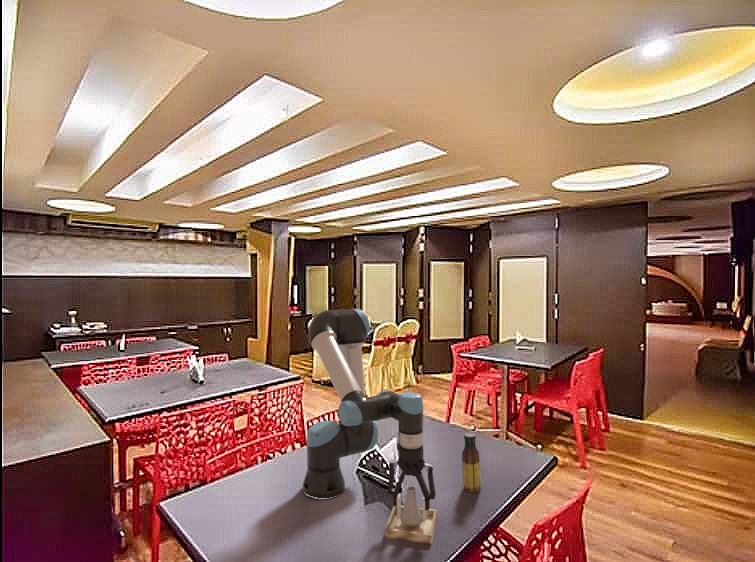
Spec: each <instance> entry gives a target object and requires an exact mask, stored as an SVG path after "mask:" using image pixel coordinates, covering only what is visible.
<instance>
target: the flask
mask: <svg viewBox="0 0 755 562" xmlns="http://www.w3.org/2000/svg"><path fill="white" fill-rule="evenodd" d="M405 489H406V499H405V503H404V505H403V506H404V508H403V511H402V514H401V516H400V520H401V523H402V524H405V525H408V526H417V525H420V524H421V523H422V522H423V518H422V515H421V512H420V510H419V508H420V507H419V504H418V500H417V493H416V492H417V487H416V486H414V485H407V486H406V487H405Z"/></svg>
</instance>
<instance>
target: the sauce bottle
mask: <svg viewBox="0 0 755 562" xmlns="http://www.w3.org/2000/svg"><path fill="white" fill-rule="evenodd" d="M476 437H477V436H476V434H475V433H472V432H466V433H464V435H463V438H464V448H463V450H462V452H461V453H462V454H461V460H462V461H461V462H462V464H461V465H462V466H461V469H462V485H463V489H464V490H465V491H466V492H468V493H478V492H480V490H481V485H482V484H481V483H482V482H481V481H482V480H481V466H480V465H481V463H480V462H481V461H480V452H479V450H478V447H477V446H476Z"/></svg>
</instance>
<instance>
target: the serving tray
mask: <svg viewBox="0 0 755 562" xmlns="http://www.w3.org/2000/svg"><path fill="white" fill-rule="evenodd" d="M403 508H404V505H402V504H401V514H402V511H403ZM419 510H420V512H421V515H422V518H423V507H419ZM437 521H438V509H432V508H429V511H428V510H426V521H425V522H422V523H421V524H420V525H417V526H408V525H405V524H402V523H401V520H400V519H397V507H395V506H394V505H393V506H392V509H391V511H390V515H389V517H388V519H387V522H386V523H385V526H384V527H385V528H384V529H383V530H384V538H386V539H391V540H398V541H399V540H400V541H405V542H412V543H420V544H428V545H433V540H434V537H435V536H434V535H435V531H436V525H437Z"/></svg>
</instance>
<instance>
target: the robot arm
mask: <svg viewBox="0 0 755 562" xmlns="http://www.w3.org/2000/svg"><path fill="white" fill-rule="evenodd" d="M370 332H371V323H370V320H369V318H368V315H367V314H366V313H365V312H364V311H363V310H362V309H360V308H345V309H344V308H343V309H329V310H323V311H320V312H319V313H317V314H316V315H315V316H314V317H313V318H312V320H311V322H310V324H309V327H308V332H307V333H308V340H309V344H310V346H311V348H312V349H313V350H314V351H316V352H317V354H318V355H319V358H320V360H321V361H322V364H323V367H324V368H325V371H326V374H327V375H328V377H329V380H330V381H331V382H330V383H332V385H333V388H334V390H335V393H336V394H337V396H338V398H339V401H340V403H339V405H338V407H337V408H338V409H337V410H338V411H337V413H338V419H339V422H338V421H336V420H328V421H327V420H323V421H319V422H316V423H314V424H313V425H311V426H310V427H309V429H308V430H307V433H306V442H305V443H306V459H307V460H306V461H307V470H306V472H305V476H304V479H303V482H302V492H303V491H304V492H305V493H306V494H308V495H310V496H313V497H317V498H330V497H334V496H336V497H338V496H340V495H341V494H343V493H344V491H345V489H346V488H345V487H346V486H345V485H346V481H345V478H344V475H343V473H342V470H341V467H340V464H341V463H340V461H341V458H345V457H348V456H353V455H357V454H361V453H365V452H367V451H371V450H372V449H374V448H375V446H376V445H377V443H378V440H379V429H378V425H377V422H376V421H380V420H381V421H382V420H385V419H390V418H391V419H393V420H395V421H398V431H399V436H398V459H397V460H394V459H390V461H389V464H388V468H389V475H388V476H389V477H388V485H387V494H388V495H391V496H392V497H393V506H395V507H397V519H400V516H401V505H402V493H399V491H400V489H401V487H402V485H403V482H404V480H405V477H406V476H407V477H408V476H412V477H415V479H416V480H417V483H418V485H419V487H420V490H421V493H422V495H423V497H422V508H423V522H425V521H426V510H428V511H429V509H430V508H431V506H430V505H431V503H430V502H431V501H430V500H435V499H436V488H435V487H436V486H435V479H434V472H433V470H434V464H433V463H430V464H429V463H426V461H425V460H424V459H425V458H424V403H423V396H422V395H421V394H420V393H419V392H413V391H406V392H402V393H400V394H399V393H397V392H395V391H392V390H388V389H384V390H381V391H380V392H379V393H377V395H372V396H367V397H366V390H365V377H364V362H363V350H362V349H363V346H364V345H365V344H366V340H365V339H367V338H368V337H369V336H370ZM397 467H399V469H400V471H401V474H400V476H399V480H398V481H397V484H396V487H395V489H394V484H395V474H396V469H397ZM423 469H425V472H426V473H427V479H428V486H429V489H428V486H427V483H426V481H425V480H424V476H423V472H422V471H423ZM339 494H340V495H339ZM337 495H338V496H337ZM334 498H335V497H334ZM330 499H331V498H330Z"/></svg>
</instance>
